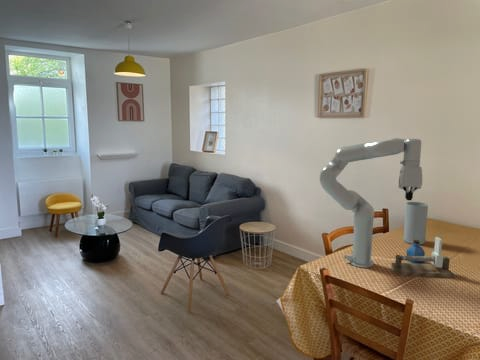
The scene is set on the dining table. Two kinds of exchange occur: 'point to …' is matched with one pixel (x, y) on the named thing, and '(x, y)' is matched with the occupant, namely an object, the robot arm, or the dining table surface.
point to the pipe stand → (421, 267)
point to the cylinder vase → (415, 222)
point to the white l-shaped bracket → (437, 253)
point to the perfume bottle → (415, 251)
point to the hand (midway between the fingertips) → (408, 199)
